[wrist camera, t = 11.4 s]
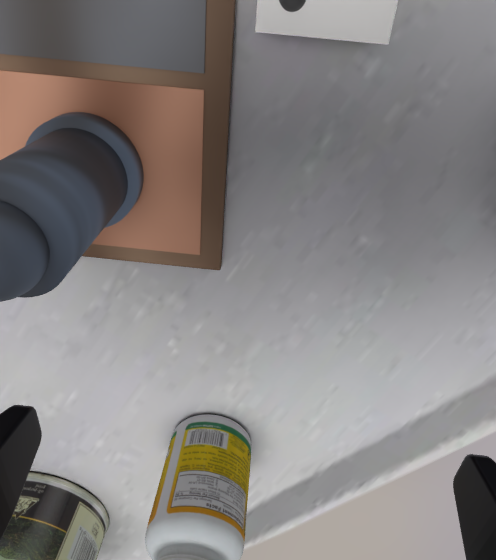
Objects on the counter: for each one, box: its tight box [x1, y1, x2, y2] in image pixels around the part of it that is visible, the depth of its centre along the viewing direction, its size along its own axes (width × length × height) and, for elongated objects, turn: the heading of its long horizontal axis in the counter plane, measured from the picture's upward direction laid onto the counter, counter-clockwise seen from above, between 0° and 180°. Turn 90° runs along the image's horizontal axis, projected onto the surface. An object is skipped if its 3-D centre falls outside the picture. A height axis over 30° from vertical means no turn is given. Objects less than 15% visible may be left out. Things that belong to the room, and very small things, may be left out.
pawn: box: [0, 112, 144, 301], centre depth 15 cm, size 5×5×9 cm
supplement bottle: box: [145, 414, 251, 560], centre depth 25 cm, size 5×5×10 cm
